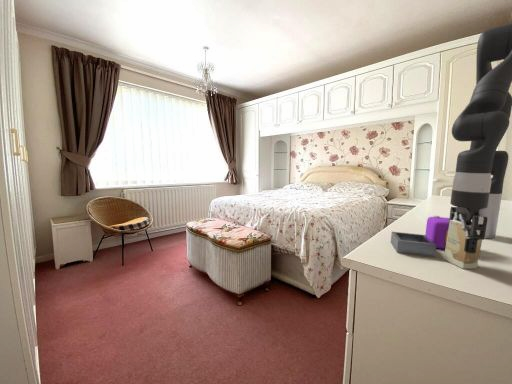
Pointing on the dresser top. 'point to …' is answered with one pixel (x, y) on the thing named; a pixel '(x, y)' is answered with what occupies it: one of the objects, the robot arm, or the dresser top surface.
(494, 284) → the dresser top surface
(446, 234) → the toy camera
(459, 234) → the skincare box
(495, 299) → the dresser top surface
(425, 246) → the tray
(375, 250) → the dresser top surface
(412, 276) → the dresser top surface
